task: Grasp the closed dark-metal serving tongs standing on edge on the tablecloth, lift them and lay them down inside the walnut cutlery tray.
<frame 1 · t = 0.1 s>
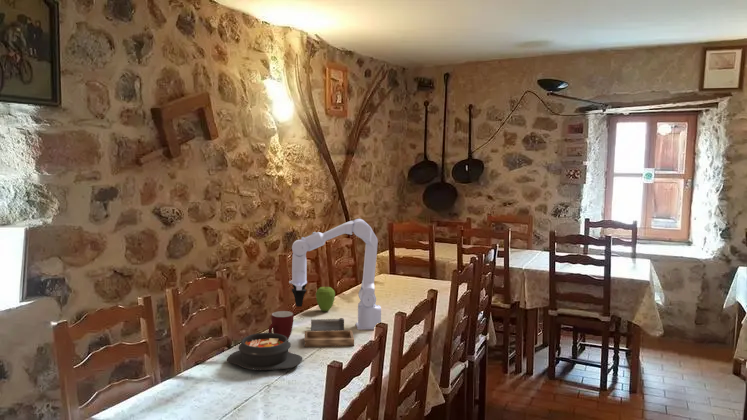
hand: (299, 303, 214), 10 cm above the table, fingers open, 7 cm apart
tray: (328, 341, 200), on the table
casserole: (264, 364, 177), on the table
mug: (280, 341, 199), on the table
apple: (325, 311, 239), on the table
tongs: (327, 329, 213), on the table
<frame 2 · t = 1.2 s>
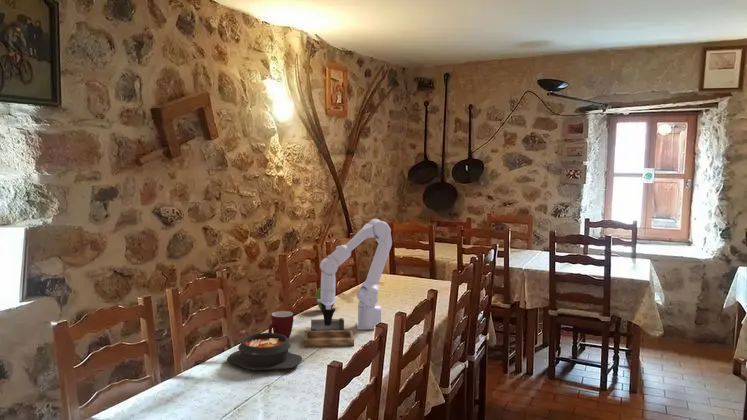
hand: (327, 322, 213), 3 cm above the table, fingers open, 7 cm apart
nothing on the table moved.
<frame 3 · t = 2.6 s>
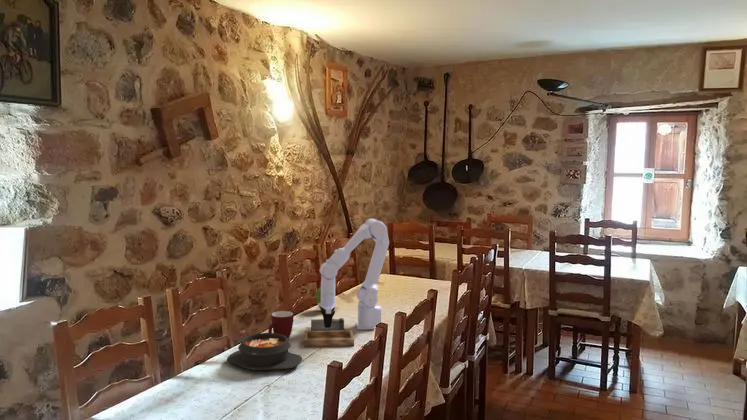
hand: (327, 326, 213), 1 cm above the table, fingers closed on tongs, 2 cm apart
tongs: (327, 329, 213), on the table, touching gripper
everything else where it was.
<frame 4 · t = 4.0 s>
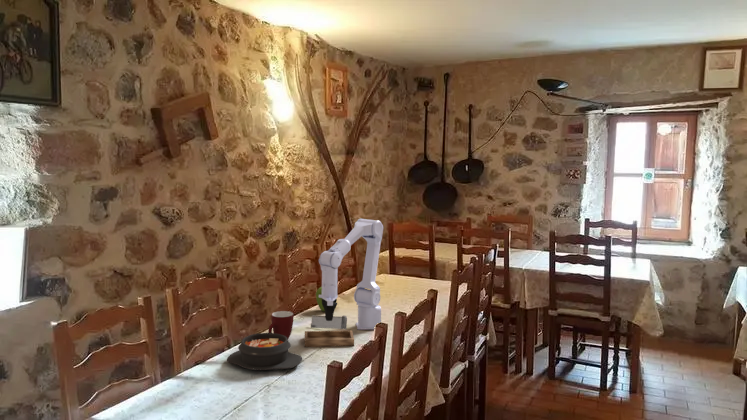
hand: (329, 319, 199), 8 cm above the table, fingers closed on tongs, 2 cm apart
tongs: (328, 327, 199), point 5 cm above the table, touching gripper
everything else where it was.
when the fingers open (3 cm above the table, at t = 5.6 s): tongs stays where it is, resting on tray.
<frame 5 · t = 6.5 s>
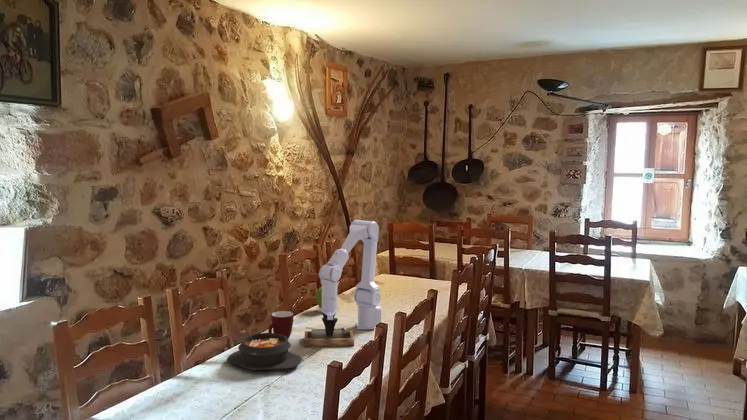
hand: (329, 333, 199), 3 cm above the table, fingers open, 7 cm apart
tongs: (328, 340, 199), point 1 cm above the table, touching tray
everything else where it was.
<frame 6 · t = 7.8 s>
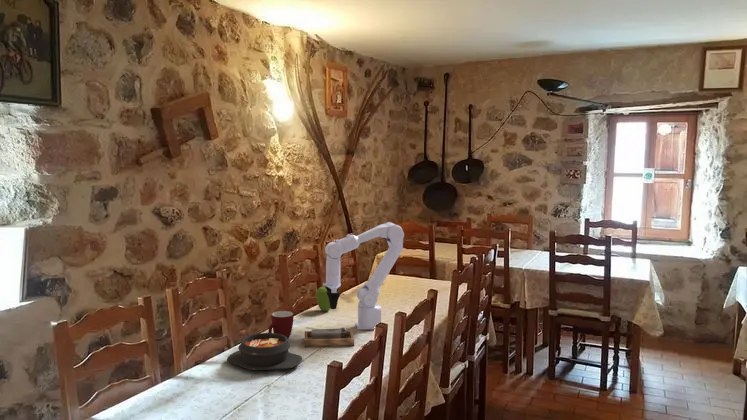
hand: (332, 306, 214), 9 cm above the table, fingers open, 7 cm apart
nothing on the table moved.
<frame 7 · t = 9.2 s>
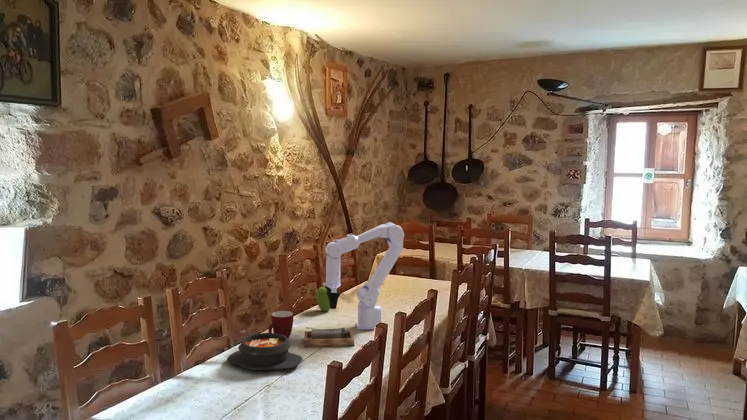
hand: (332, 306, 214), 9 cm above the table, fingers open, 7 cm apart
nothing on the table moved.
at the end: tongs inside the target area on the tray (0.1 cm from its centre), point 0.6 cm above the tray's base; the gripper is holding nothing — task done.
